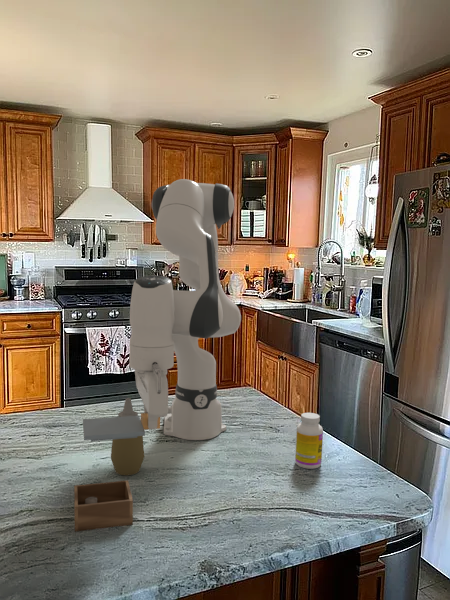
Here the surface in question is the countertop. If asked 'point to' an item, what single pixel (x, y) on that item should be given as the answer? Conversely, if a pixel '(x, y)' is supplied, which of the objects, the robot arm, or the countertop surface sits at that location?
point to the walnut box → (102, 505)
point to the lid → (116, 427)
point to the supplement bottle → (309, 441)
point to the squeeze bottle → (127, 448)
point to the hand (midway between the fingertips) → (150, 424)
